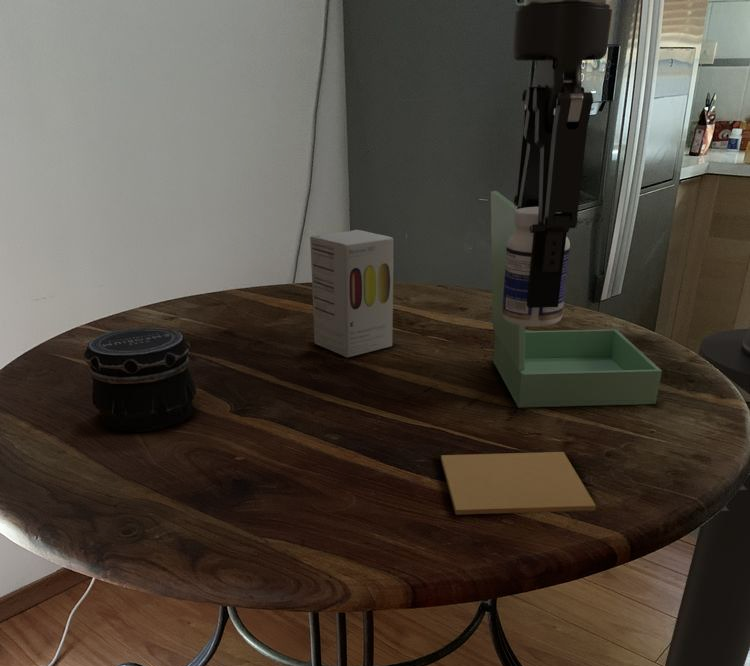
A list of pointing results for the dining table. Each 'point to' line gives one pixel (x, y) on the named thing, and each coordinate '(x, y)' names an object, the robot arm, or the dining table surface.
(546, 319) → the pill bottle
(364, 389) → the dining table surface
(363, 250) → the supplement box
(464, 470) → the cork mat
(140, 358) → the container
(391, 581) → the dining table surface
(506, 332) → the chest lid
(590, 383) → the chest
